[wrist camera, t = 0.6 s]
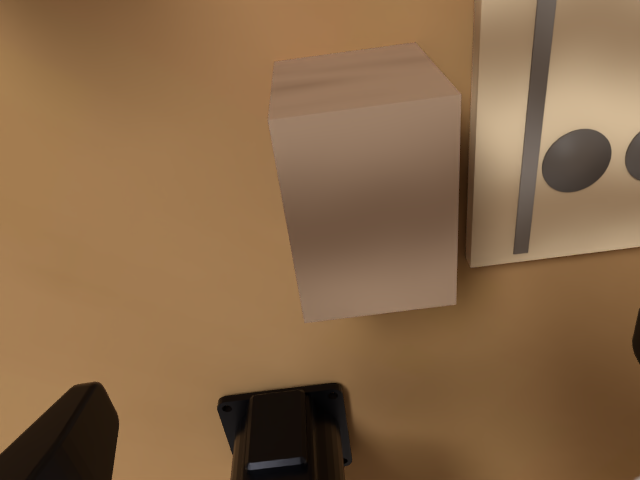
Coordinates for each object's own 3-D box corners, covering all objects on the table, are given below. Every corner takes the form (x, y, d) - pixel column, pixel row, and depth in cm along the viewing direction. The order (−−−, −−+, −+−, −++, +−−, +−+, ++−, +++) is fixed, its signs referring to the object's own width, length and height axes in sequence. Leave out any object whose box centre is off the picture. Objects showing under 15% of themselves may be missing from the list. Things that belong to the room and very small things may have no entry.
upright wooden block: (419, 213, 22) (456, 304, 17) (301, 228, 23) (304, 323, 17) (415, 41, 19) (461, 94, 14) (274, 61, 19) (268, 119, 14)
